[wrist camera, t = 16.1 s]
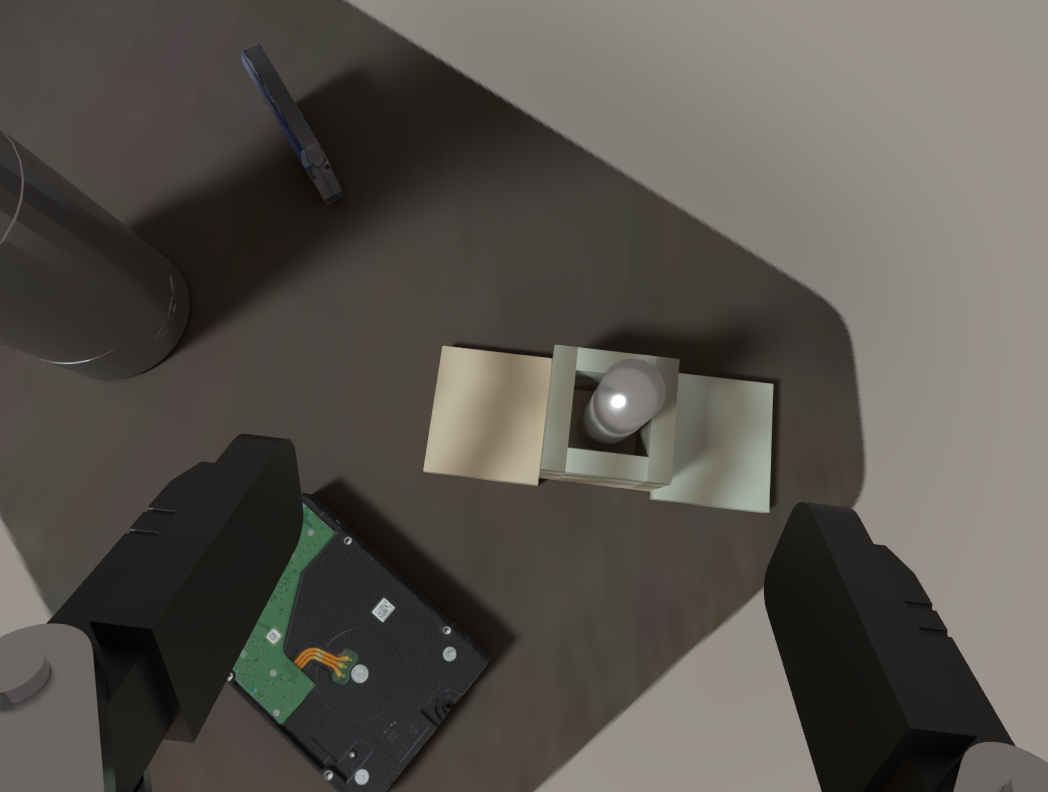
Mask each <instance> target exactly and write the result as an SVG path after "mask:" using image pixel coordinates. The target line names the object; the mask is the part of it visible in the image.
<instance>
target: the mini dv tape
mask: <svg viewBox="0 0 1048 792" xmlns="http://www.w3.org/2000/svg"><path fill="white" fill-rule="evenodd" d="M241 56H242V61H243V64H244V66H245V68H246V69H247V71H248V73H249V74H250V76H251V78H252V80H253V81H254V83H255V85H256V87H257V88H258V90H259V92H260V93H261V95H262V97H263V99H264V100H265V102H266V104H267V106H268V107H269V109H270V111H271V112H272V114H273V116H274V118H275V119H276V121H277V123H278V124H279V126H280V128H281V129H282V131H283V133H284V135H285V136H286V138H287V140H288V141H289V143H290V145H291V146H292V148H293V150H294V151H295V153H296V155H297V157H298V158H299V160H300V162H301V163H302V165H303V167H304V168H305V170H306V172H307V174H308V175H309V177H310V179H311V180H312V182H313V184H314V185H315V187H316V189H317V191H318V192H319V194H320V196H321V197H322V199H323V201H324V202H325V204H326V205H328V204H330V203H332V202H334V201H336V200H338V199H339V198H341V197H343V196H345V193H344V191H343V189H342V187H341V185H340V183H339V181H338V179H337V177H336V175H335V173H334V171H333V169H332V167H331V165H330V163H329V161H328V159H327V157H326V155H325V153H324V152H323V150H322V148H321V146H320V144H319V142H318V140H317V139H316V137H315V135H314V134H313V132H312V130H311V129H310V127H309V125H308V124H307V122H306V120H305V119H304V117H303V115H302V114H301V112H300V110H299V109H298V107H297V105H296V104H295V102H294V100H293V99H292V97H291V95H290V94H289V92H288V90H287V89H286V87H285V85H284V84H283V82H282V80H281V79H280V77H279V75H278V74H277V72H276V70H275V69H274V67H273V65H272V64H271V62H270V60H269V59H268V57H267V55H266V54H265V52H264V50H263V49H262V47H261V45H260V44H259V43H258V44H256V45H254V46H252V47H250V48H247V49H245V50H243V51H242V52H241Z"/></svg>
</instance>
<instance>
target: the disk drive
mask: <svg viewBox="0 0 1048 792" xmlns="http://www.w3.org/2000/svg"><path fill="white" fill-rule="evenodd" d="M301 496H302V503H303V511H304V518H303V527H302V532H301V536H300V539H299V542H298V545H297V547H296V549H295V552H294V553H293V555H292V557H291V559H290V561H289V563H288V565H287V567H286V569H285V571H284V572H283V574H282V576H281V578H280V580H279V582H278V584H277V586H276V588H275V589H274V591H273V593H272V595H271V597H270V599H269V601H268V603H267V605H266V607H265V608H264V610H263V612H262V614H261V616H260V618H259V620H258V622H257V624H256V626H255V627H254V629H253V631H252V633H251V635H250V637H249V639H248V641H247V643H246V645H245V646H244V648H243V650H242V652H241V654H240V656H239V658H238V660H237V662H236V664H235V665H234V667H233V669H232V671H231V673H230V675H229V677H228V679H227V681H226V682H227V683H229V685H230V686H231V687H232V688H233V689H234V690H235V691H236V692H237V693H238V694H239V695H240V696H241V697H242V698H243V699H244V700H245V701H246V702H247V703H248V704H249V705H250V706H251V707H252V708H253V709H254V710H255V711H256V712H257V713H259V715H260V716H261V717H262V718H263V719H264V720H265V721H267V722H268V724H269V725H271V726H272V728H273V729H274V730H276V731H277V732H278V733H279V734H280V735H281V736H282V737H283V738H284V739H285V740H286V741H287V742H288V743H289V744H290V745H291V746H292V747H293V748H294V749H295V750H296V751H297V752H298V753H299V754H300V755H301V756H302V757H303V758H304V759H305V760H306V761H307V762H308V763H309V764H310V765H311V766H312V767H313V768H314V769H315V770H316V771H317V772H318V773H319V774H320V775H321V776H322V777H323V778H325V780H326V781H327V782H328V783H329V784H330V786H331V787H332V788H333V789H334V790H335V791H336V792H387V790H388V789H389V788H390V787H391V785H392V784H393V783H394V781H395V780H396V779H397V777H398V776H399V775H400V774H401V773H402V771H403V770H404V769H405V768H406V766H407V765H408V764H409V763H410V762H411V760H412V759H413V758H414V757H415V756H416V754H417V753H418V751H419V750H420V749H421V748H422V746H423V745H424V744H425V742H426V741H427V740H428V739H429V738H430V736H431V735H432V734H433V733H434V731H435V730H436V729H437V727H438V726H439V725H440V723H441V722H442V721H443V719H444V718H445V716H446V715H447V714H448V713H449V712H450V710H451V708H452V707H453V705H454V704H456V703H457V701H458V700H459V699H460V698H461V697H462V695H464V694H465V692H466V691H467V690H468V688H469V687H470V686H471V684H472V683H473V682H474V681H475V680H476V679H477V677H478V676H479V675H480V673H481V672H482V671H483V670H484V668H485V667H486V666H487V664H488V661H489V657H490V654H489V652H488V651H486V650H485V649H484V648H483V647H482V646H480V645H479V644H478V642H476V641H475V640H474V638H473V637H472V636H471V635H470V634H469V633H468V632H467V631H466V630H465V629H464V628H463V627H461V626H460V625H459V624H458V623H456V622H454V621H452V619H451V618H450V617H448V616H447V615H446V614H445V613H444V612H443V611H442V610H440V609H439V608H438V607H437V606H436V605H435V604H434V603H433V602H432V601H430V600H429V599H428V598H427V597H426V596H425V595H424V594H422V593H421V592H420V591H419V590H418V589H417V588H416V587H415V586H414V585H413V584H411V583H410V582H409V581H408V580H407V579H406V578H405V577H404V576H403V575H402V574H400V573H399V572H398V571H397V570H396V569H395V568H394V567H393V566H392V565H391V564H390V563H389V562H387V561H386V560H385V559H383V558H382V556H381V555H380V554H378V553H377V552H376V551H375V550H374V549H373V548H371V546H370V545H368V544H367V543H366V542H365V541H364V540H363V539H362V538H361V537H360V536H358V535H357V534H356V533H355V532H354V531H353V530H352V529H351V528H350V527H349V525H348V524H347V523H346V522H345V521H344V520H342V519H341V518H340V517H339V516H338V515H337V514H335V513H333V512H332V511H331V510H330V509H329V508H328V507H327V506H326V505H324V503H322V501H321V500H319V499H318V498H317V497H316V496H314V495H312V494H308V493H302V492H301Z"/></svg>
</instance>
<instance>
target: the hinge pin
mask: <svg viewBox="0 0 1048 792" xmlns="http://www.w3.org/2000/svg"><path fill="white" fill-rule="evenodd" d="M665 397H666V386H665V382H664V380H663V377H662V376H661V374H660V373H659V371H658V370H657V369H656V368H655V367H654V366H653V365H651V364H649V363H648V362H646V361H643V360H639V359H625V360H621V361H619V362H617V363H615V364H614V365H612V366H611V367H610V368H609V369H608V370H607V372H606V373H605V375H604V377H603V378H602V380H601V382H600V384H599V385H598V387H597V389H596V390H595V392H594V394H593V395H592V397H591V399H590V401H589V402H588V404H587V406H586V407H585V409H584V411H583V413H582V414H581V416H580V418H579V421H578V433H579V436H580V438H581V440H582V441H583V443H584V444H585V445H586V446H587V447H589V448H590V449H592V450H595V451H600V452H606V451H610V450H613V449H615V448H616V447H618V446H619V445H620V444H621V443H622V442H624V441H625V440H626V439H627V438H628V437H629V436H631V435H632V434H633V433H634V432H635V431H637V430H638V429H639V428H640V427H641V426H642V425H644V424H645V423H646V422H647V421H648V420H650V419H651V418H652V417H653V416H654V415H655V414H657V413H658V411H659V410H660V409H661V407H662V406H663V404H664V401H665Z"/></svg>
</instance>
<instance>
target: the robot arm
mask: <svg viewBox="0 0 1048 792" xmlns="http://www.w3.org/2000/svg"><path fill="white" fill-rule="evenodd" d="M189 310H190V299H189V291H188V288H187V285H186V282H185V279H184V278H183V276H182V275H181V273H180V272H179V270H178V268H176V267H175V266H174V265H173V264H172V263H171V262H170V261H169V260H168V259H167V258H166V257H164V256H163V255H162V254H160V253H159V252H158V251H157V250H155V249H154V248H153V247H151V246H150V245H149V244H148V243H146V242H145V241H144V240H143V239H141V238H140V237H139V236H137V235H136V234H135V233H134V232H133V231H132V230H130V229H129V228H128V227H126V226H125V225H124V224H123V223H121V222H120V221H119V220H117V219H116V218H115V217H114V216H112V215H111V214H110V213H108V212H107V211H106V210H105V209H103V208H102V207H101V206H99V205H98V204H97V203H96V202H94V201H93V200H92V199H90V198H89V197H88V196H87V195H85V194H84V193H83V192H81V191H80V190H79V189H78V188H76V187H75V186H74V185H72V184H71V183H70V182H69V181H67V180H66V179H65V178H63V177H62V176H61V175H60V174H58V173H57V172H56V171H54V170H53V169H52V168H51V167H49V166H48V165H47V164H46V163H44V162H43V161H42V160H40V159H39V158H38V157H37V156H35V155H34V154H33V153H31V152H30V151H29V150H28V149H26V148H25V147H24V146H22V145H21V144H20V143H19V142H17V141H16V140H15V139H13V138H12V137H11V136H10V135H8V134H7V133H6V132H4V131H3V130H2V129H1V128H0V344H1V345H4V346H6V347H9V348H12V349H14V350H17V351H20V352H23V353H25V354H28V355H31V356H34V357H36V358H38V359H41V360H44V361H46V362H49V363H52V364H55V365H58V366H60V367H63V368H66V369H69V370H72V371H74V372H77V373H80V374H83V375H86V376H88V377H91V378H97V379H104V380H112V379H123V378H127V377H131V376H134V375H138V374H140V373H142V372H144V371H146V370H148V369H150V368H152V367H153V366H155V365H156V364H157V363H159V362H160V361H161V360H163V359H164V358H165V357H166V356H167V355H168V354H169V353H170V352H171V351H172V349H173V348H174V347H175V346H176V344H177V343H178V341H179V340H180V338H181V336H182V335H183V333H184V330H185V327H186V324H187V322H188V318H189ZM303 518H304V511H303V503H302V496H301V488H300V481H299V474H298V467H297V460H296V452H295V447H294V444H293V443H292V441H291V440H289V439H283V438H275V437H266V436H258V435H249V434H240V435H238V436H237V437H236V438H235V439H234V440H233V441H232V442H231V444H230V445H229V446H228V447H227V449H226V450H225V451H224V452H223V454H222V455H221V456H220V457H219V459H218V460H217V461H216V462H215V463H210V462H200V463H199V464H197V465H195V466H194V467H192V468H191V469H189V470H187V471H186V472H184V473H183V474H181V475H179V476H178V477H176V478H175V479H173V480H172V481H170V482H169V483H168V484H167V486H166V487H165V488H164V489H163V490H162V491H161V492H160V494H159V495H158V496H157V497H156V498H155V499H154V501H153V502H152V503H151V504H150V505H149V506H148V511H147V512H143V513H142V514H141V516H140V517H139V518H138V519H137V520H136V521H135V523H134V524H133V525H132V526H131V527H130V532H129V533H128V534H126V533H125V534H124V535H123V536H122V538H121V539H120V540H119V541H118V542H117V543H116V544H115V546H114V547H113V548H112V549H111V550H110V551H109V553H108V554H107V555H106V556H105V557H104V558H103V560H102V561H101V562H100V563H99V564H98V565H97V566H96V568H95V569H94V570H93V571H92V572H91V573H90V575H89V576H88V577H87V578H86V579H85V580H84V581H83V583H82V584H81V585H80V586H79V587H78V588H77V590H76V591H75V592H74V593H73V594H72V595H71V597H70V598H69V599H68V600H67V601H66V602H65V603H64V605H63V606H62V607H61V608H60V609H59V610H58V612H57V613H56V614H55V615H54V616H53V617H52V618H51V619H50V620H49V621H48V622H47V623H46V624H41V625H35V626H30V627H26V628H23V629H19V630H16V631H14V632H11V633H9V634H6V635H4V636H2V637H0V792H152V786H151V779H150V773H149V769H148V765H149V763H150V761H151V760H152V758H153V756H154V754H155V753H156V751H157V749H158V747H159V746H160V744H161V742H162V740H163V739H167V740H175V741H183V742H190V743H194V741H195V740H196V738H197V736H198V734H199V732H200V730H201V728H202V726H203V724H204V722H205V721H206V719H207V717H208V715H209V713H210V711H211V709H212V707H213V705H214V703H215V702H216V700H217V698H218V696H219V694H220V692H221V690H222V688H223V686H224V684H225V683H226V681H227V679H228V677H229V675H230V673H231V671H232V669H233V667H234V665H235V664H236V662H237V660H238V658H239V656H240V654H241V652H242V650H243V648H244V646H245V645H246V643H247V641H248V639H249V637H250V635H251V633H252V631H253V629H254V627H255V626H256V624H257V622H258V620H259V618H260V616H261V614H262V612H263V610H264V608H265V607H266V605H267V603H268V601H269V599H270V597H271V595H272V593H273V591H274V589H275V588H276V586H277V584H278V582H279V580H280V578H281V576H282V574H283V572H284V571H285V569H286V567H287V565H288V563H289V561H290V559H291V557H292V555H293V553H294V552H295V549H296V547H297V545H298V542H299V539H300V536H301V532H302V527H303ZM764 600H765V606H766V610H767V613H768V617H769V620H770V623H771V626H772V630H773V633H774V636H775V640H776V643H777V646H778V650H779V653H780V656H781V659H782V663H783V666H784V669H785V673H786V676H787V679H788V682H789V686H790V689H791V692H792V696H793V699H794V702H795V705H796V709H797V712H798V715H799V719H800V721H801V725H802V728H803V732H804V735H805V738H806V741H807V745H808V748H809V751H810V755H811V758H812V761H813V764H814V768H815V771H816V774H817V778H818V781H819V784H820V787H821V791H822V792H1048V763H1047V762H1046V761H1044V760H1043V759H1041V758H1039V757H1037V756H1035V755H1034V754H1032V753H1030V752H1028V751H1025V750H1023V749H1021V748H1018V747H1016V746H1015V744H1014V743H1013V741H1012V740H1011V738H1010V736H1009V734H1008V733H1007V731H1006V729H1005V728H1004V726H1003V724H1002V723H1001V721H1000V719H999V717H998V716H997V714H996V712H995V711H994V709H993V707H992V705H991V704H990V702H989V700H988V699H987V697H986V696H985V693H984V692H983V690H982V688H981V687H980V685H979V683H978V681H977V680H976V678H975V676H974V675H973V673H972V671H971V670H970V668H969V666H968V664H967V663H966V661H965V659H964V657H963V656H962V654H961V652H960V651H959V649H958V647H957V645H956V644H955V642H954V641H953V639H952V637H948V635H947V628H946V627H945V625H944V623H943V621H942V620H941V618H940V616H939V615H938V613H937V611H933V610H932V605H933V604H932V603H931V601H930V599H929V597H928V596H927V594H926V592H925V591H924V589H923V587H922V586H921V584H920V582H919V580H918V579H917V577H916V575H915V574H914V573H913V572H912V571H911V570H910V569H909V568H908V567H907V566H906V565H905V564H904V563H903V562H902V561H901V560H900V559H899V558H898V557H897V556H896V555H895V554H894V553H893V552H892V551H891V550H889V549H888V548H887V547H886V546H884V545H876V544H873V542H872V540H871V538H870V536H869V535H868V533H867V531H866V529H865V527H864V525H863V523H862V522H861V520H860V518H859V516H858V515H857V513H856V512H855V511H854V510H853V509H851V508H848V507H840V506H831V505H823V504H814V503H806V502H800V503H798V504H796V505H795V507H794V508H793V510H792V512H791V514H790V516H789V518H788V521H787V523H786V525H785V528H784V530H783V532H782V535H781V537H780V539H779V542H778V544H777V546H776V549H775V551H774V553H773V556H772V558H771V560H770V563H769V565H768V567H767V570H766V574H765V580H764Z"/></svg>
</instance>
